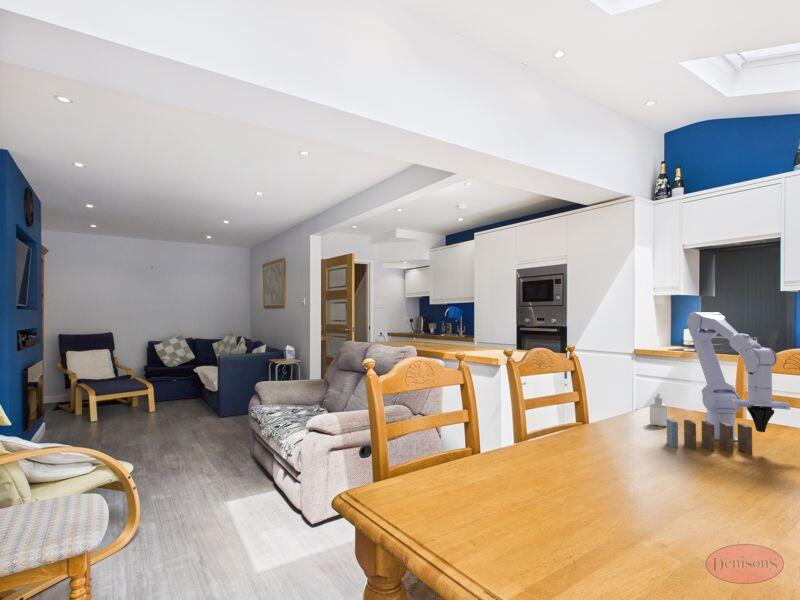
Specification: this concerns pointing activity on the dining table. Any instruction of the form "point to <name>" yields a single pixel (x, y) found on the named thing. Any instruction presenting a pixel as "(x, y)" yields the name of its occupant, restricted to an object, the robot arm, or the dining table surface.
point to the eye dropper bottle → (658, 412)
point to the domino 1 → (672, 432)
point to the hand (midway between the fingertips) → (760, 431)
